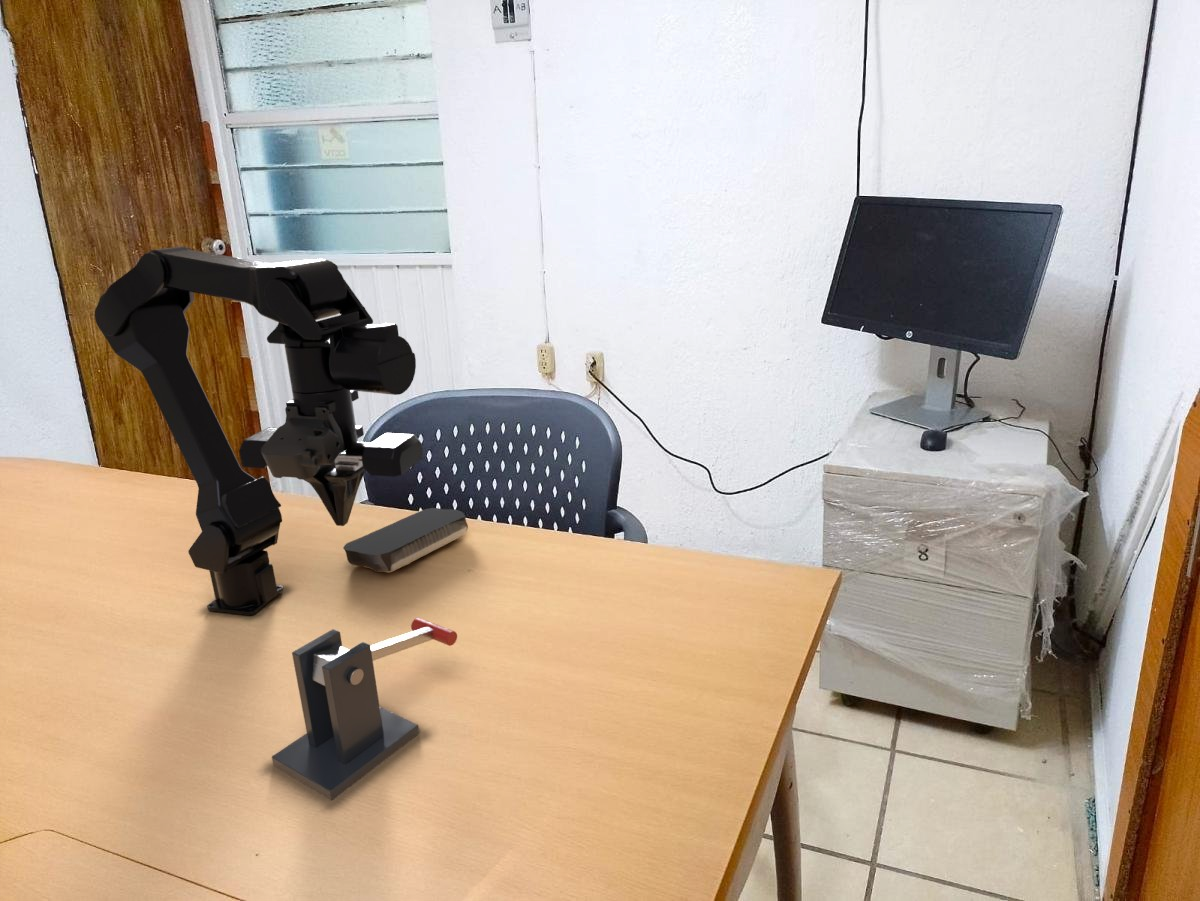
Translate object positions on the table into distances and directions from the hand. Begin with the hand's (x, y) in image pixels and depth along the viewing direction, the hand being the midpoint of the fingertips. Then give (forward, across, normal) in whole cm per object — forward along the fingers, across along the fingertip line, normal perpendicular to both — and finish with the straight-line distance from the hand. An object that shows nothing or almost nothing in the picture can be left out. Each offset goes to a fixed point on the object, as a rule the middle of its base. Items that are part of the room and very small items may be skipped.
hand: (342, 524), depth 90 cm
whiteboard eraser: (+13, -3, +19) cm, 23 cm away
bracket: (+13, +10, -19) cm, 25 cm away
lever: (+7, +12, -14) cm, 20 cm away
